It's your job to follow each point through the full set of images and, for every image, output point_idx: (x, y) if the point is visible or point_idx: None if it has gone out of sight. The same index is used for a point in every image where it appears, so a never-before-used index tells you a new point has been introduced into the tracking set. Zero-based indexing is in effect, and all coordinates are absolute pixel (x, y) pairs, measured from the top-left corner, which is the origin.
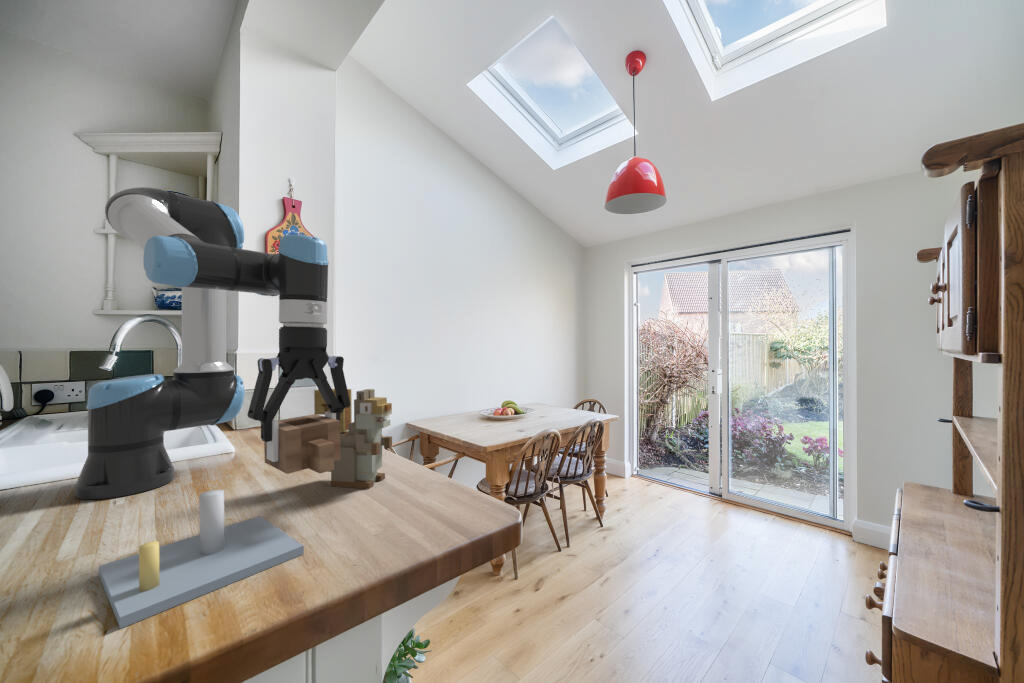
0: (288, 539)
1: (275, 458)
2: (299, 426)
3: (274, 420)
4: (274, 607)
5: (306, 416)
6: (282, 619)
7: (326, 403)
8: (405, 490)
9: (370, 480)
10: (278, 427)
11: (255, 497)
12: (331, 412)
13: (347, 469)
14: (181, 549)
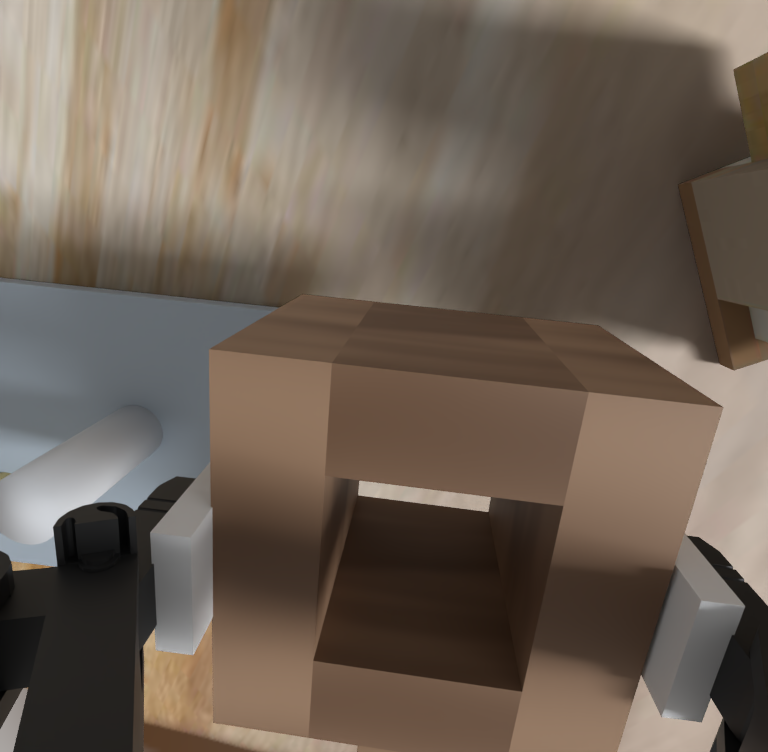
0: None
1: None
2: (327, 695)
3: (191, 586)
4: (174, 689)
5: (592, 431)
6: (170, 723)
7: (763, 698)
8: (763, 496)
9: (766, 347)
10: (211, 619)
11: (419, 8)
12: (713, 666)
13: (746, 272)
14: (81, 358)
